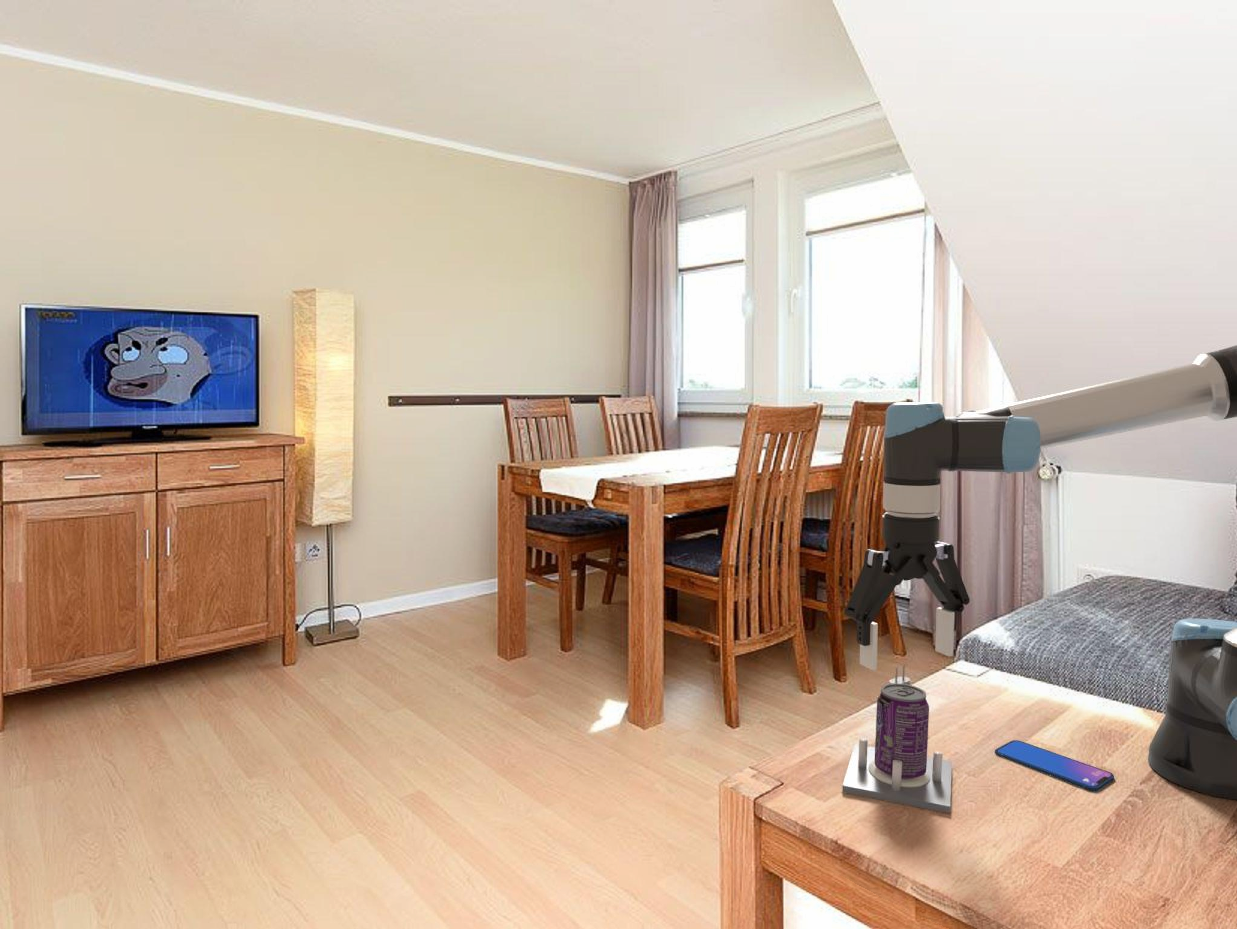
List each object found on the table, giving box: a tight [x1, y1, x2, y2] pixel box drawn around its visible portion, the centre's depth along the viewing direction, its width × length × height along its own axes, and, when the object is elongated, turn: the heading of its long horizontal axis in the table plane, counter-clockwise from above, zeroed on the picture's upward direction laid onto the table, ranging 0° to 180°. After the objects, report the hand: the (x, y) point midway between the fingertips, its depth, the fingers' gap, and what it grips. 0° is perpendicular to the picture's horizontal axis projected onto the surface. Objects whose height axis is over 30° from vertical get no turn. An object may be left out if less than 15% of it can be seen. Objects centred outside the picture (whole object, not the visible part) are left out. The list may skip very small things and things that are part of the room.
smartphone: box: [994, 739, 1115, 792], centre depth 122 cm, size 7×1×15 cm
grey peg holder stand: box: [841, 737, 953, 814], centre depth 117 cm, size 14×14×5 cm
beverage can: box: [874, 683, 930, 779], centre depth 116 cm, size 7×7×12 cm
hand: (906, 660), depth 115 cm, fingers open, 13 cm apart
